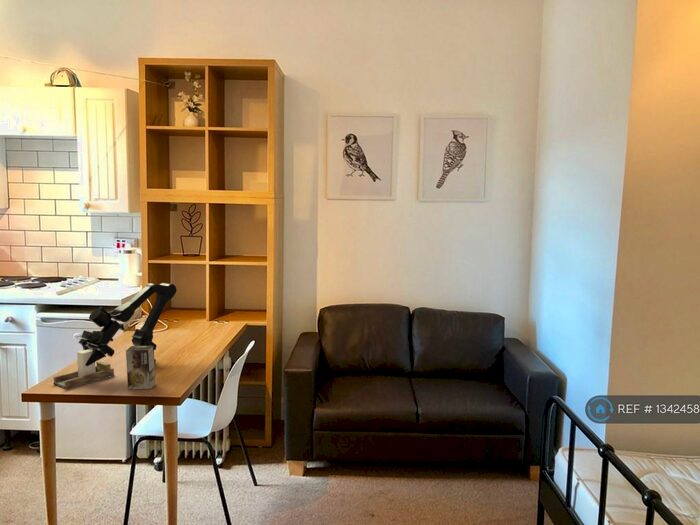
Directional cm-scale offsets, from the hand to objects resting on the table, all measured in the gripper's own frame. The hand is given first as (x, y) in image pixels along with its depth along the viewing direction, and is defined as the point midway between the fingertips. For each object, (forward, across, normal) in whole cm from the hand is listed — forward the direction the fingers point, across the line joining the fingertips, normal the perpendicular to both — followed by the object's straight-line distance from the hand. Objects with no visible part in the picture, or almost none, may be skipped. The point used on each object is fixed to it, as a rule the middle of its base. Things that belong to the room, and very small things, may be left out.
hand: (83, 364), depth 211 cm
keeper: (+3, 0, +5) cm, 5 cm away
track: (+4, 0, +5) cm, 7 cm away
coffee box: (-2, +26, +11) cm, 29 cm away
